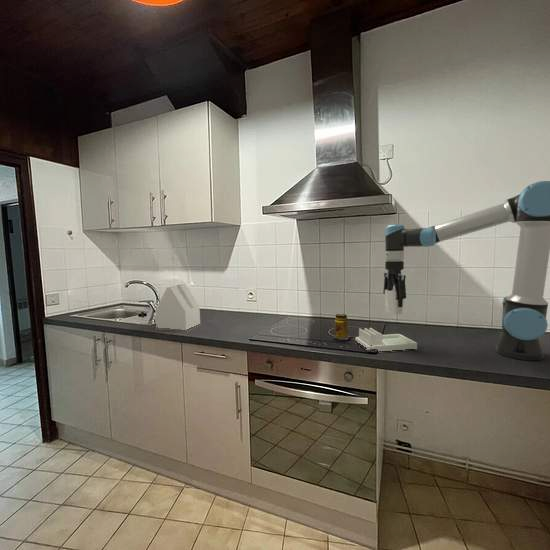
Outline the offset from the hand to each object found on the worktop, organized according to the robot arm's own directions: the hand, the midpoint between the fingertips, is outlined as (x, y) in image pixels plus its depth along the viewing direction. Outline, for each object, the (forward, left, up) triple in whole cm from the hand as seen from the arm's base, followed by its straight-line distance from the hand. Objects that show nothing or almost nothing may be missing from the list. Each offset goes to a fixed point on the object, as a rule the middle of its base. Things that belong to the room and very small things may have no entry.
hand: (394, 312), depth 136 cm
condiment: (+15, +18, -15) cm, 28 cm away
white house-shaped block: (+58, +102, -15) cm, 119 cm away
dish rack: (0, +4, -15) cm, 16 cm away
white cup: (0, 0, 0) cm, 0 cm away
